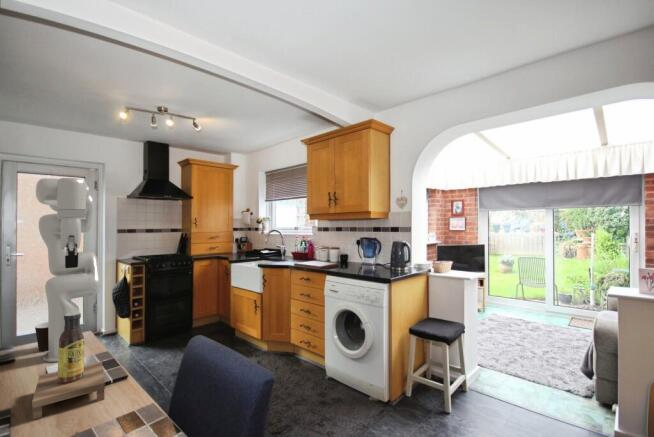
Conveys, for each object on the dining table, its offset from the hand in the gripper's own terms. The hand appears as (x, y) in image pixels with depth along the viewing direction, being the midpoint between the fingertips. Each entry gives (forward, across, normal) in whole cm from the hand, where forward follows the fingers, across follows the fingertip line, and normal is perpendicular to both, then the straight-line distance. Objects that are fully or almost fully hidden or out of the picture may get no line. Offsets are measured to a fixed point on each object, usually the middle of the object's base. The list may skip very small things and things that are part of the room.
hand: (72, 265), depth 107 cm
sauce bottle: (+34, +12, 0) cm, 36 cm away
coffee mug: (+38, -39, -7) cm, 55 cm away
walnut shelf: (+38, +12, 0) cm, 40 cm away
